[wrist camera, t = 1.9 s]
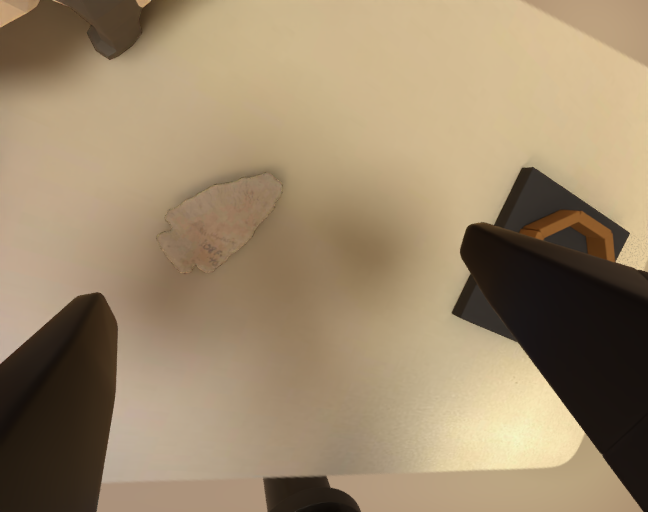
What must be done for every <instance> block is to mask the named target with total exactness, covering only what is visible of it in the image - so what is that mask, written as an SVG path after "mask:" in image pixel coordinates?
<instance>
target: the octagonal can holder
mask: <svg viewBox="0 0 648 512" xmlns="http://www.w3.org/2000/svg"><path fill="white" fill-rule="evenodd" d="M495 226H498V227H501V228H504V229H507V230H511V231H514V232H517V233H521V234H524V235H527V236H530V237H534V238H537V239H540V240H543V241H547V242H550V243H553V244H557V245H560V246H563V247H566V248H570V249H573V250H576V251H579V252H583V253H586V254H589V255H593V256H596V257H599V258H602V259H606V260H609V261H612V262H615V261H616V260H617V258H618V256H619V254H620V252H621V250H622V248H623V246H624V244H625V242H626V240H627V238H628V236H629V234H630V233H629V232H628V231H626V230H625V229H623V228H622V227H620V226H619V225H618V224H616V223H615V222H613V221H612V220H610V219H609V218H607V217H606V216H604V215H603V214H601V213H600V212H598V211H597V210H596V209H594V208H593V207H591V206H590V205H588V204H587V203H585V202H584V201H582V200H581V199H579V198H578V197H576V196H575V195H574V194H572V193H571V192H569V191H568V190H566V189H565V188H563V187H562V186H560V185H559V184H557V183H556V182H554V181H553V180H552V179H550V178H549V177H547V176H546V175H544V174H543V173H541V172H540V171H538V170H537V169H535V168H534V167H530V168H522V170H521V172H520V174H519V176H518V178H517V180H516V183H515V185H514V187H513V189H512V191H511V193H510V195H509V197H508V199H507V201H506V203H505V205H504V207H503V209H502V211H501V213H500V215H499V218H498V220H497V222H496V224H495ZM452 314H454V315H456V316H458V317H459V318H461V319H464V320H466V321H469V322H471V323H473V324H476V325H478V326H480V327H483V328H485V329H488V330H490V331H492V332H495V333H497V334H499V335H502V336H504V337H507V338H509V339H511V340H514V341H516V342H517V340H516V339H515V338H514V336H513V335H512V334H511V332H510V331H509V330H508V328H507V327H506V326H505V324H504V323H503V321H502V320H501V319H500V317H499V316H498V315H497V313H496V312H495V311H494V309H493V308H492V307H491V305H490V304H489V302H488V301H487V299H486V298H485V296H484V295H483V293H482V291H481V290H480V288H479V286H478V285H477V283H476V281H475V280H474V278H473V276H472V275H470V277H469V279H468V281H467V283H466V285H465V288H464V290H463V292H462V294H461V296H460V298H459V300H458V302H457V304H456V306H455V308H454V310H453V312H452Z"/></svg>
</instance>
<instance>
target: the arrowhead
mask: <svg viewBox="0 0 648 512" xmlns="http://www.w3.org/2000/svg"><path fill="white" fill-rule="evenodd" d="M282 186H283V185H282V183H281V182H280V181H278V180H277V179H276V178H275V177H274V176H273V175H272V174H270V173H264V174H262V175H257V176H253V177H251V178H247V177H243V178H240V179H239V180H237V181H234V182H230V183H226V184H225V183H224V184H214V185H213V186H211V187H209V188H208V189H206V190H205V191H203V192H200V193H198V194H197V195H196V196H195V197H193V198H191V199H187V200H185V201H184V202H183V203H181V204H180V206H179V207H176V208H174V209H170V210H169V211H168V212H167V213H166V215H165V219H166V221H167V222H169V223H170V226H171V227H172V230H171V231H169V232H162V233H160V234H159V235H157V238H156V239H157V241H158V243H159V245H160V247H161V249H162V250H163V252H164V254H165V255H166V256H167V258H168V259H169V260H170V261H171V263H172V264H173V265H174V267H175V268H176V269H177V270H178V271H179V272H181V273H184V274H185V273H187V272H192V270H193V267H194V266H195V265H197V267H198V268H199V269H200V270H202V271H204V272H206V273H208V272H213V271H214V270H215V269H216V267H217V266H220V265H222V264H223V263H224V262H225V261H226V260H227V258H228V257H229V256H230V255H231V254H232V253H234V252H236V251H237V250H238V249H239V248H240V247H241V246H242V245H245V244H246V242H247V241H248V240H249V239H250V238H251V237H252V236H253V234H254V231H255V229H256V227H257V226H258V225H259V224H260V223H262V221H263V220H264V219H266V218H267V216H268V215H269V213H270V212H272V211H273V209H274V208H275V206H274V204H275V203H276V201H277V199H279V198H280V195H281V194H282Z"/></svg>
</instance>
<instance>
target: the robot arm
mask: <svg viewBox="0 0 648 512" xmlns="http://www.w3.org/2000/svg"><path fill="white" fill-rule="evenodd" d="M460 255H461V258H462V260H463V261H464V263H465V265H466V266H467V268H468V270H469V271H470V273H471V275H472V276H473V278H474V280H475V281H476V283H477V285H478V286H479V288H480V290H481V291H482V293H483V295H484V296H485V298H486V299H487V301H488V302H489V304H490V305H491V307H492V308H493V309H494V311H495V312H496V313H497V315H498V316H499V317H500V319H501V320H502V321H503V323H504V324H505V326H506V327H507V328H508V330H509V331H510V332H511V334H512V335H513V336H514V338H515V339H516V340H517V342H518V343H519V344H520V346H521V347H522V348H523V350H524V351H525V352H526V354H527V355H528V356H529V358H530V359H531V360H532V362H533V363H534V365H535V366H536V367H537V369H538V370H539V371H540V373H541V374H542V375H543V377H544V378H545V379H546V381H547V382H548V383H549V385H550V386H551V387H552V389H553V390H554V391H555V393H556V394H557V395H558V397H559V398H560V399H561V401H562V402H563V404H564V405H565V406H566V408H567V409H568V410H569V412H570V413H571V414H572V416H573V417H574V418H575V420H576V421H577V422H578V424H579V425H580V426H581V428H582V429H583V430H584V432H585V433H586V434H587V436H588V437H589V438H590V440H591V441H592V443H593V444H594V445H595V447H596V448H597V449H598V451H599V452H600V453H601V454H603V455H602V456H603V458H604V459H605V460H606V462H607V463H608V465H609V466H610V467H611V469H612V470H613V471H614V473H615V474H616V475H617V477H618V478H619V479H620V481H621V482H622V483H623V485H624V486H625V487H626V489H627V490H628V491H629V493H630V494H631V496H632V497H633V498H634V499H635V501H636V502H637V504H638V505H639V506H640V508H641V509H642V510H643V512H648V272H645V271H642V270H636V269H635V268H632V267H629V266H625V265H622V264H619V263H615V262H612V261H609V260H606V259H602V258H599V257H596V256H593V255H589V254H586V253H583V252H579V251H576V250H573V249H570V248H566V247H563V246H560V245H557V244H553V243H550V242H547V241H543V240H540V239H537V238H534V237H530V236H527V235H524V234H521V233H517V232H514V231H511V230H507V229H504V228H501V227H498V226H494V225H491V224H488V223H484V222H481V223H475V224H471V225H469V226H468V227H467V228H466V231H465V234H464V238H463V241H462V245H461V248H460ZM117 339H118V326H117V321H116V319H115V316H114V315H113V313H112V311H111V309H110V307H109V305H108V303H107V301H106V299H105V297H104V296H103V295H102V294H101V293H98V292H96V293H91V294H85V295H80V296H77V297H76V298H75V299H73V300H72V301H71V302H70V303H69V304H68V305H67V306H65V307H64V308H63V309H62V310H61V311H60V312H59V313H58V314H56V315H55V316H54V317H53V318H52V319H51V320H50V321H49V322H47V323H46V324H45V325H44V326H43V327H42V328H41V329H40V330H38V331H37V332H36V333H35V334H34V335H33V336H32V337H30V338H29V339H28V340H27V341H26V342H25V343H24V344H23V345H21V346H20V347H19V348H18V349H17V350H16V351H15V352H14V353H12V354H11V355H10V356H9V357H8V358H7V359H6V360H4V361H3V362H2V363H1V364H0V512H96V511H97V505H98V499H99V492H100V486H101V481H102V475H103V468H104V462H105V456H106V450H107V444H108V438H109V432H110V426H111V420H112V414H113V408H114V401H115V393H116V370H117Z"/></svg>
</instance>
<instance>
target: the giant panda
mask: <svg viewBox="0 0 648 512" xmlns="http://www.w3.org/2000/svg"><path fill="white" fill-rule="evenodd" d="M39 1H40V0H0V27H2V26H4V25H6V24H8V23H9V22H11V21H13V20H15V19H17V18H19V17H21V16H22V15H24V14H26V13H28V12H29V11H31V10H32V9H33V8H35V7H36V6H37V5H38V3H39ZM53 1H56V2H58V3H61V4H63V5H66V6H68V7H70V8H71V9H72V10H74V11H75V12H76V13H77V14H78V15H80V16H81V17H82V18H83V19H85V20H86V21H87V22H88V23H90V24H91V26H90V28H89V30H88V32H87V34H88V36H89V38H90V40H91V42H92V44H93V46H94V48H95V50H96V51H97V52H99V53H100V54H102V55H103V56H105V57H106V58H108V59H109V60H110V59H112V58H114V57H117V56H119V55H120V54H121V53H123V52H124V51H125V50H127V49H128V48H129V47H131V46H132V45H133V44H134V42H135V41H136V40H137V38H138V37H139V36H140V34H141V33H142V31H141V27H140V22H139V18H140V15H141V11H142V8H143V7H144V6H145V5H146V4H148V3H149V2H150V1H152V0H53Z"/></svg>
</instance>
